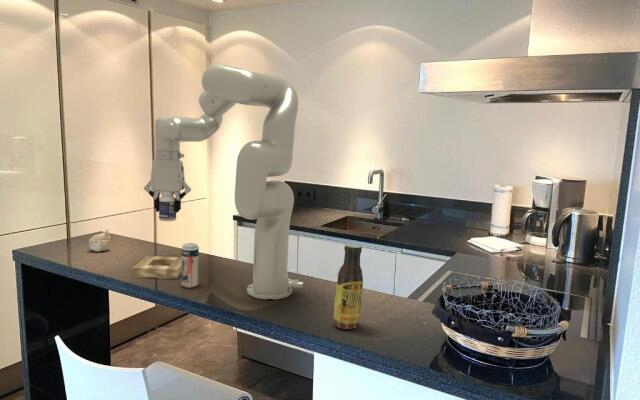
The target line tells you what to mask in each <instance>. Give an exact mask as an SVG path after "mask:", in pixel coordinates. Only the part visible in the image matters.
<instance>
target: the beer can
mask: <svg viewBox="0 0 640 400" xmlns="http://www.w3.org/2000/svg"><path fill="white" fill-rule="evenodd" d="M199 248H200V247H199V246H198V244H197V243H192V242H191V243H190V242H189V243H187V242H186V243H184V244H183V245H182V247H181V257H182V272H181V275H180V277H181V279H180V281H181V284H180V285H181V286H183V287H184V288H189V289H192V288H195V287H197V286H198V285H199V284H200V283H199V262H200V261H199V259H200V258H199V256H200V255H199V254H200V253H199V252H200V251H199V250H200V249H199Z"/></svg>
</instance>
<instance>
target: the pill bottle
mask: <svg viewBox="0 0 640 400" xmlns="http://www.w3.org/2000/svg"><path fill="white" fill-rule="evenodd" d="M160 195H161V196H159V197H160V198H159V211H158V219H159V221H161V222H175V221H176V220H177V213H175V200H176V197H174V196H175V194H174V192H170V191H161V193H160Z"/></svg>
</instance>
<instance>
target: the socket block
mask: <svg viewBox="0 0 640 400" xmlns="http://www.w3.org/2000/svg"><path fill="white" fill-rule="evenodd" d="M131 270H132V278H134V279H156V278H157V279H159V280H160V279H161V280H163V279H165V280H178V279H179V278H180V277H181V272H182V256H181V257H180V256H160V255H159V256H157V255H156V256H155V255H146V256H145V257H144V258H143V259H141V260H140V261H139V262H138V263H137V264H135V265H134V266H133V267H132V269H131ZM157 279H156V280H157Z"/></svg>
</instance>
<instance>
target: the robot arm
mask: <svg viewBox="0 0 640 400" xmlns="http://www.w3.org/2000/svg"><path fill="white" fill-rule="evenodd" d="M201 85H202V88H203V90H204V91H203V92H201V93H200V95H199V97H198V103H199V107H200V109H201V110H202V111H203V112H204V113H203V114H202V115H201V116H199V117H187V116H186V117H185V116H184V117H182V116H174V117H173V116H172V117H164V116H163V117H162V116H158V117H157V118H155V121H154V128H155V129H154V131H155V132H154V139H155V141H154V149H155V150H154V154H155V155H154V157H155V158H154V159H153V160H152V165H151V171H150V179H149V180H150V181H148V182H147V184H146V185H144V187H143V190H144V191H146V193H148V194H149V195H150V196H151V197H152V199H153V203H154V210H155V212H156V213H159V198H160V197H161V196H160V195H161V191H170V192H174V196H175V198H176V200H175V213H176V214H177V213H179V212H180V211H181V210H182V199H183V198H184V197H186V195H188V194H189V193H191V191H192V188H191V187H190V185H188V184H187V182H186V178H185V168H184V162H183V160H181V158H185V153H184V152H183V153H182V152H181V150H180V149H181V142H183V143H184V142H187V143H188V142H191V143H193V142H197V143H198V142H199V143H200V142H203V141H206V140H207V139H209V138H210V137H211V136H213V135H214V134H215V133H216V132H218V130H219V129H220V128H221V125H222V122H223V115H225V113H227V112H229V110H231V109H232V108H233V107H234V106H235V105H236V104H239V105H244V106H253V107H263V108H264V107H266V108H268V109H269V111H268V113H267V114H266V115H265V118H264V121H263V124H262V134H261V135H262V136H261V140H252V141H249V142H247V143H246V144H244V145H243V146H242V147H241V149H240V150H239V153H238V155H237V160H236V167H235V168H236V169H235V184H234V204H235V209H236V211H237V213H238V215H240V216H241V217H242V218H243V219H246V220H252V221H253V220H256V223H255V227H254V234H253V235H254V237H253V238H254V239H253V242H254V243H253V269H252V283H251V284H249V285H248V286H247V287H246V293H247V294H248V295H249V296H250V297H253V298H256V299H258V300H259V299H260V300H267V299H273V300H280V299H285V298H288V297H289V296H291V294H292V293H293V289H301V290H303V284H304V282H303V281H299V279H291V278H289V274H288V263H289V262H288V261H289V239H290V226H291V225H290V224H291V217H292V213H293V208H294V203H295V195H294V192H293V189H292V188H291V186H290V185H289V184H288V183H286V182H284V181H281V180H267V178H273V177H279V176H280V177H281V176H284V175H286V174H287V173H289V171H290V170H291V168H292V163H293V155H294V154H293V153H294V143H295V130H296V121H297V117H298V116H297V115H298V110H299V96H298V94H297V90H296V89H295V87H294V86H293V84H291V83H290V81H288V80H287V79H284V78H282V77H279V76H276V75H272V74H265V73H260V72H256V71H255V72H254V71H249V70H246V69H245V70H244V69H242V68H240V67H236V66H232V65H227V64H226V65H225V64H220V63H219V64H218V63H215V64H212V65H209V66H208V67H207V68H206V69H205V70H204V72H203V74H202V77H201ZM183 190H184V191H183ZM181 191H182V192H181Z"/></svg>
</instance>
